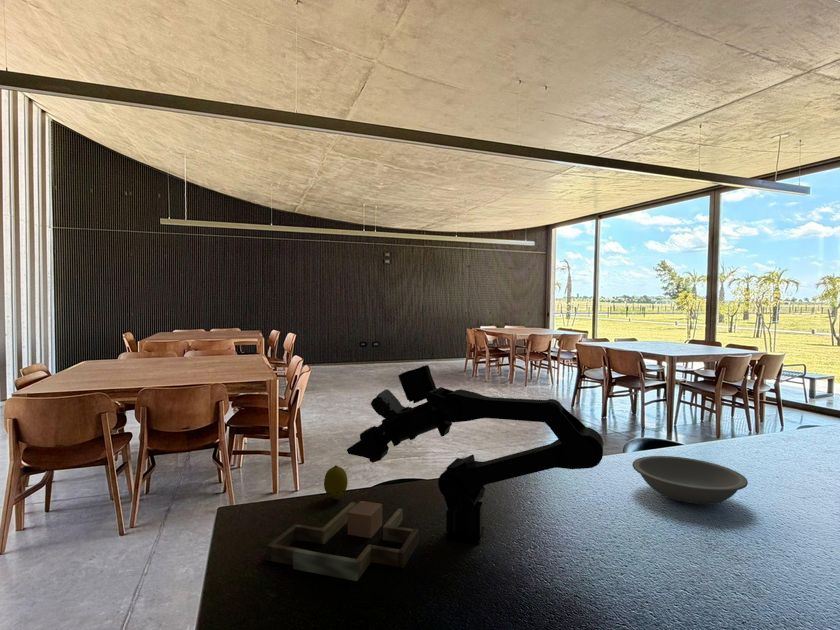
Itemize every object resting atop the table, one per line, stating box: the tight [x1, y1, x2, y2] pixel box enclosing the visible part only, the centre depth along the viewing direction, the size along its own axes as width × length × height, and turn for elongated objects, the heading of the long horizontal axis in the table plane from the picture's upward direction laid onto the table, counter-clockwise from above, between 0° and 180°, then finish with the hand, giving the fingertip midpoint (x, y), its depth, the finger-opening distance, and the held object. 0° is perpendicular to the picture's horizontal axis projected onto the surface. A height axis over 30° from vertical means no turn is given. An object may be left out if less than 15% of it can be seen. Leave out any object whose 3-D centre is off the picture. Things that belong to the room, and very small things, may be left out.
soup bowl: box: [632, 455, 749, 505], centre depth 108 cm, size 24×24×7 cm
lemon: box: [323, 465, 349, 500], centre depth 106 cm, size 6×6×8 cm
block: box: [347, 500, 383, 539], centre depth 91 cm, size 5×6×4 cm
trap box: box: [266, 501, 420, 582], centre depth 85 cm, size 24×23×3 cm
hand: (358, 443), depth 99 cm, fingers open, 9 cm apart
